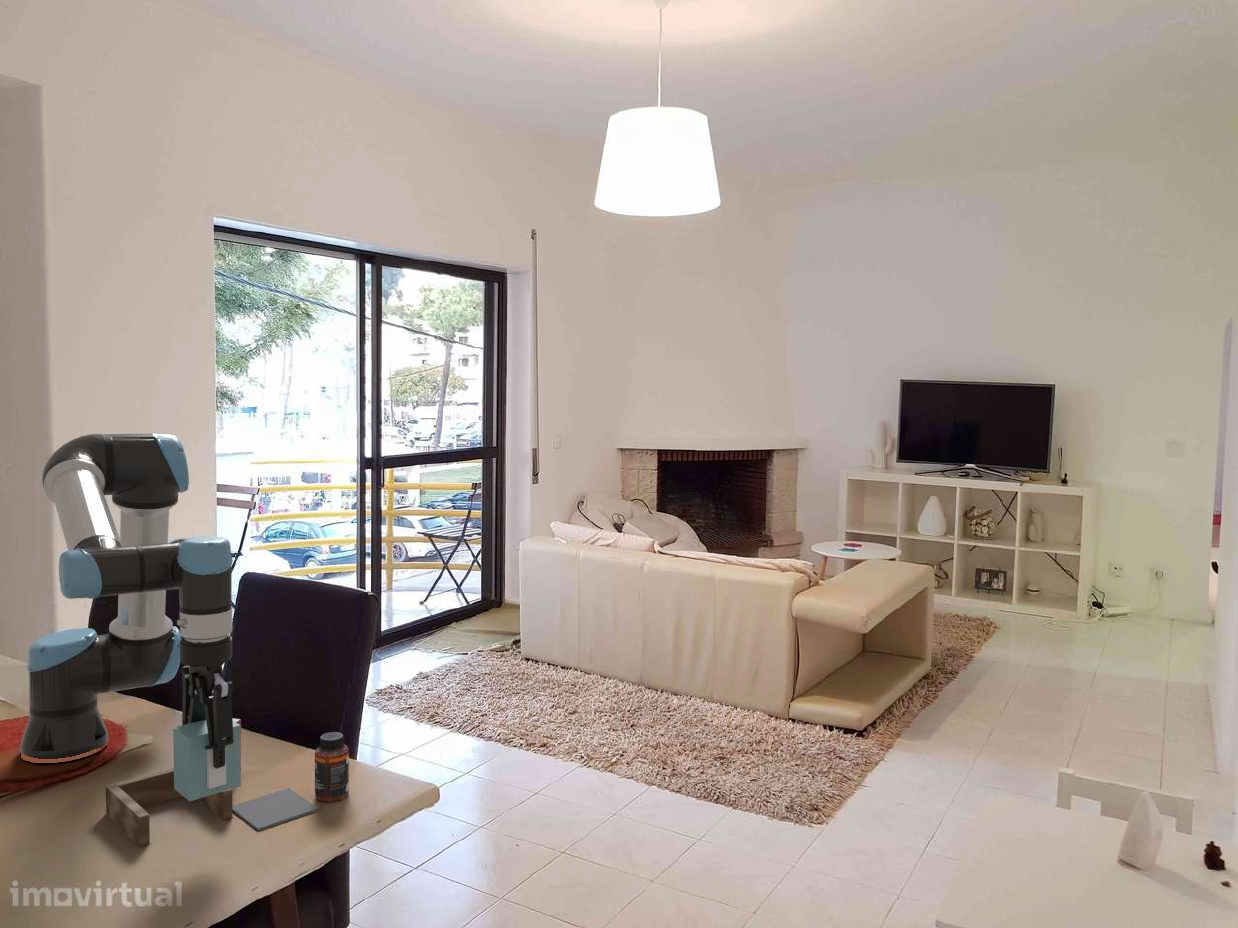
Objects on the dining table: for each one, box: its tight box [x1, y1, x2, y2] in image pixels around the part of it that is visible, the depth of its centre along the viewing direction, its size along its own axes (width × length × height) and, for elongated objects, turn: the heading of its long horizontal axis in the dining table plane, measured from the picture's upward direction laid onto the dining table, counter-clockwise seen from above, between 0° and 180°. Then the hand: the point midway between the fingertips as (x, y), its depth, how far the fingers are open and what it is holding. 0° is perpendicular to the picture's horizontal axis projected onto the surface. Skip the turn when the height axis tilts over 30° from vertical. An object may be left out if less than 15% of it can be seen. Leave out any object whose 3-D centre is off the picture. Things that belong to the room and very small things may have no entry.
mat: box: [232, 787, 320, 831], centre depth 164 cm, size 11×11×1 cm
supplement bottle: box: [314, 731, 350, 803], centre depth 169 cm, size 6×6×11 cm
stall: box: [105, 767, 233, 848], centre depth 160 cm, size 16×15×5 cm
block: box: [172, 720, 242, 802], centre depth 148 cm, size 6×8×10 cm
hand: (207, 778), depth 148 cm, fingers closed on block, 6 cm apart
